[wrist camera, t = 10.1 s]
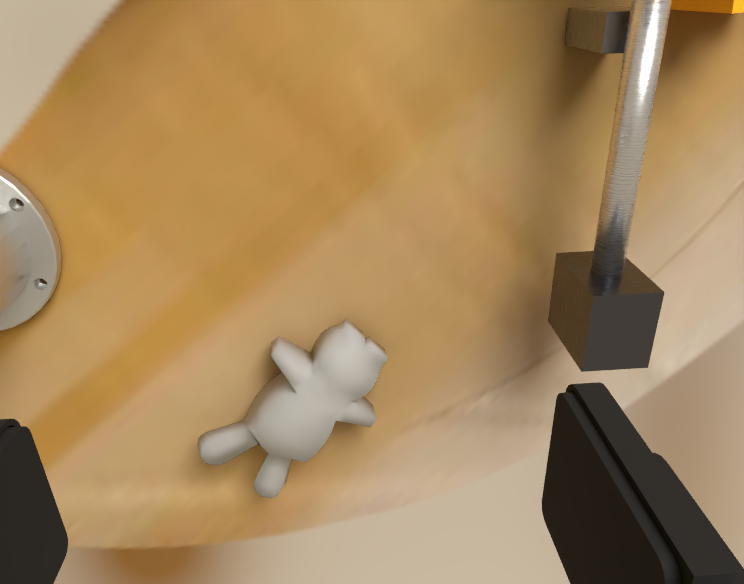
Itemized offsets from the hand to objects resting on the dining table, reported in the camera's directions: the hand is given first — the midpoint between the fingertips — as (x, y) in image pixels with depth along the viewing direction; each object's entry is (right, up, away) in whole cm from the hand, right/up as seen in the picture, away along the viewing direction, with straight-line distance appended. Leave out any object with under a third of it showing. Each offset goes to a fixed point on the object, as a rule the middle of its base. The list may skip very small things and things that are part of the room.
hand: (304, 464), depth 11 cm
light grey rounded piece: (-4, -4, +36) cm, 37 cm away
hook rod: (+15, +11, +25) cm, 31 cm away
